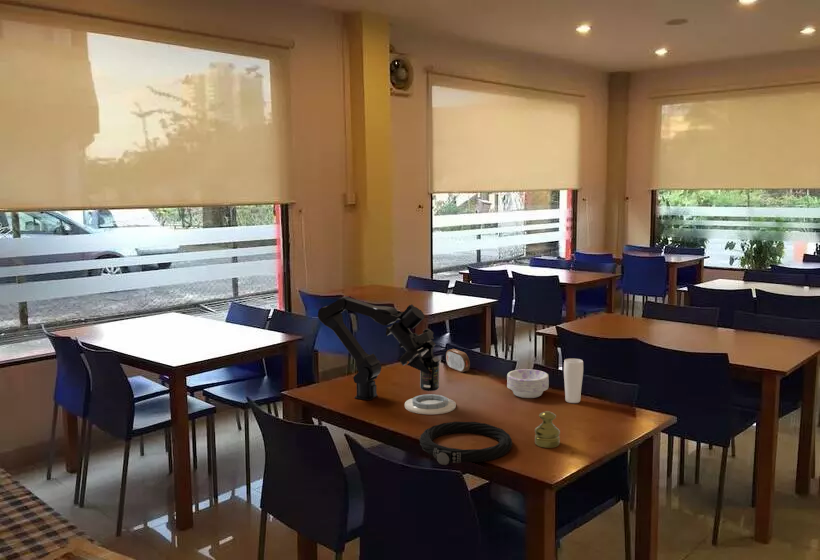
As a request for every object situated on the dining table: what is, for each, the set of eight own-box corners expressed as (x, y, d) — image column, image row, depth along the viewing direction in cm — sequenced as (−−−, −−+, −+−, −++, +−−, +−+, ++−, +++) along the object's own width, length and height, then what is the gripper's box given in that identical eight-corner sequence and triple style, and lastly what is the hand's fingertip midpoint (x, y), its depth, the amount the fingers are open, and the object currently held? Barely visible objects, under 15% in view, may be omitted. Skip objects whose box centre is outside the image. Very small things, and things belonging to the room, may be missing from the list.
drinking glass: (562, 403, 245) (563, 362, 243) (563, 398, 251) (564, 357, 249) (581, 405, 243) (582, 363, 241) (582, 399, 249) (584, 359, 247)
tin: (470, 373, 287) (470, 353, 285) (464, 374, 285) (464, 354, 284) (450, 365, 299) (450, 346, 298) (444, 366, 298) (444, 347, 297)
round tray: (396, 410, 238) (396, 403, 238) (416, 396, 255) (416, 389, 254) (444, 417, 231) (444, 410, 231) (462, 402, 247) (462, 395, 247)
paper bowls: (506, 399, 250) (506, 378, 249) (507, 388, 265) (507, 368, 264) (548, 401, 247) (549, 380, 246) (548, 389, 262) (548, 369, 261)
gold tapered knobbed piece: (530, 445, 205) (531, 412, 204) (540, 437, 211) (540, 406, 210) (554, 450, 201) (554, 417, 200) (563, 442, 207) (564, 410, 206)
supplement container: (440, 386, 245) (440, 358, 243) (437, 392, 238) (437, 362, 237) (422, 385, 246) (422, 357, 245) (418, 390, 239) (418, 361, 238)
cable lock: (524, 427, 210) (489, 461, 184) (524, 439, 211) (489, 475, 185) (442, 414, 223) (398, 444, 197) (442, 426, 224) (398, 457, 197)
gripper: (407, 327, 232) (437, 362, 229) (430, 318, 249) (458, 351, 246) (387, 347, 237) (415, 382, 233) (411, 337, 253) (438, 370, 250)
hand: (433, 370), depth 241 cm, fingers closed on supplement container, 7 cm apart
